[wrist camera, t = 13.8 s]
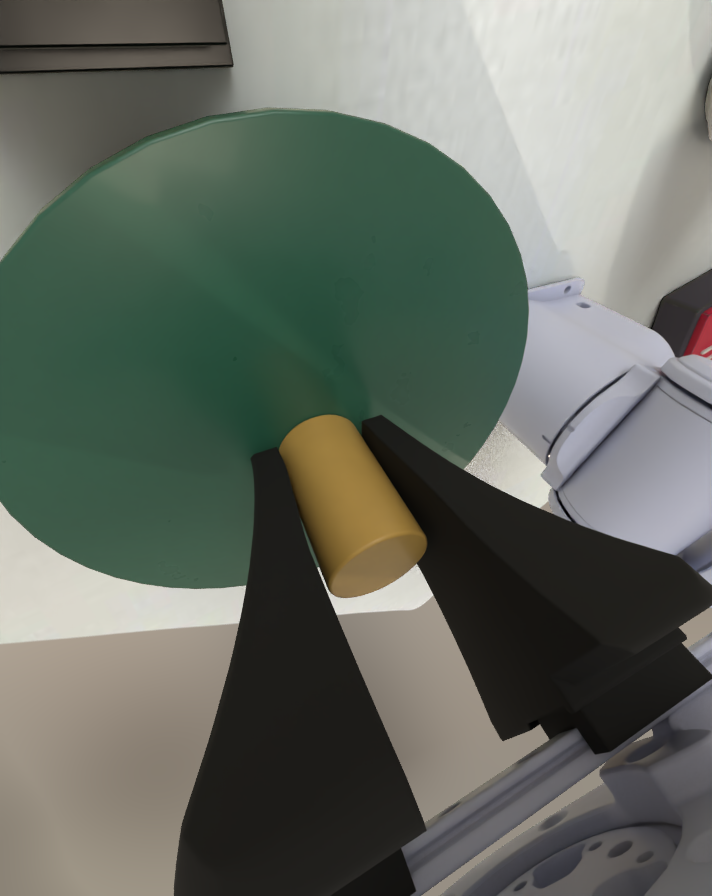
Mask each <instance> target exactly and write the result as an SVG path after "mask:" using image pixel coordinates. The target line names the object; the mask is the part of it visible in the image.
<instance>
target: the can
mask: <svg viewBox="0 0 712 896" xmlns="http://www.w3.org/2000/svg"><path fill="white" fill-rule="evenodd" d="M705 114H706V120H707V121H708V133H709V138H710V139H711V141H712V77H711V80H710V83H709V86H708V91H707V96H706V102H705Z"/></svg>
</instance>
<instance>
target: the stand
mask: <svg viewBox="0 0 712 896" xmlns="http://www.w3.org/2000/svg"><path fill="white" fill-rule="evenodd" d="M233 65H234V64H233V58H232V53H231V47H230V42H229V37H228V31H227V26H226V20H225V15H224V9H223V4H222V0H0V75H4V74H36V73H69V72H101V71H133V70H166V69H198V68H230V67H233Z"/></svg>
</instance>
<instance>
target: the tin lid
mask: <svg viewBox="0 0 712 896" xmlns="http://www.w3.org/2000/svg"><path fill="white" fill-rule="evenodd" d="M528 319H529V302H528V288H527V280H526V275H525V271H524V267H523V262H522V258H521V254H520V251H519V249H518V246H517V244H516V242H515V239H514V237H513V234H512V232H511V229H510V227H509V225H508V223H507V221H506V220H505V218H504V217H503V215H502V214H501V212H500V210H499V209H498V207H497V206H496V204H495V203H494V201H493V200H492V198H491V196H490V195H489V194H488V193H487V192H486V191H485V190H484V189H483V188H482V186H481V185H480V184H479V183H478V182H477V181H476V180H475V179H474V178H473V177H472V176H471V175H470V174H469V173H468V172H467V171H466V170H465V169H464V168H463V167H462V166H461V165H459V164H458V163H456V162H455V161H454V160H452V159H451V158H449V157H448V156H447V155H445V154H444V153H442V152H441V151H439V150H438V149H437V148H435V147H434V146H432V145H431V144H430V143H428V142H426V141H423V140H421V139H419V138H417V137H414V136H412V135H410V134H408V133H405V132H403V131H401V130H399V129H396V128H394V127H392V126H390V125H387V124H385V123H381V122H377V121H372V120H368V119H364V118H359V117H355V116H351V115H346V114H342V113H338V112H333V111H328V110H315V109H291V108H261V109H254V110H247V111H240V112H233V113H226V114H219V115H212V116H206V117H203V118H200V119H197V120H194V121H191V122H188V123H186V124H183V125H180V126H177V127H174V128H171V129H168V130H165V131H162V132H159V133H156V134H153V135H150V136H147V137H145V138H143V139H141V140H139V141H138V142H136V143H134V144H132V145H131V146H129V147H127V148H125V149H123V150H122V151H120V152H118V153H116V154H114V155H113V156H111V157H109V158H107V159H105V160H104V161H102V162H100V163H98V164H96V165H95V166H93V167H91V168H90V169H88V170H87V171H86V172H85V173H84V174H82V175H81V176H80V177H79V178H78V179H76V180H75V181H74V182H73V183H72V184H71V185H69V186H68V187H67V188H66V189H65V190H63V191H62V192H61V193H60V194H59V195H57V196H56V197H55V198H54V199H53V200H51V201H50V202H49V203H48V204H47V205H46V206H44V207H43V208H42V209H41V210H40V212H39V213H38V214H37V215H36V217H35V218H34V219H33V220H32V222H31V223H30V224H29V225H28V227H27V228H26V229H25V230H24V232H23V233H22V234H21V235H20V237H19V238H18V239H17V240H16V242H15V243H14V244H13V245H12V247H11V248H10V249H9V250H8V252H7V253H6V254H5V256H4V257H3V259H2V260H1V262H0V502H1V503H2V504H3V506H4V507H5V508H6V510H7V511H8V512H9V514H10V515H11V516H12V517H14V518H15V519H16V520H17V521H18V522H19V523H20V524H21V525H22V526H23V527H24V528H25V529H26V530H28V531H29V532H30V533H31V534H32V535H33V536H34V537H35V538H37V539H38V540H40V541H41V542H43V543H44V544H46V545H47V546H49V547H50V548H52V549H53V550H55V551H56V552H58V553H59V554H61V555H63V556H65V557H67V558H69V559H71V560H73V561H75V562H77V563H79V564H81V565H83V566H85V567H87V568H90V569H93V570H95V571H98V572H101V573H104V574H107V575H110V576H113V577H116V578H120V579H124V580H128V581H133V582H137V583H141V584H147V585H155V586H162V587H170V588H191V589H205V588H226V587H235V586H245V585H247V579H248V572H249V565H250V557H251V547H252V538H253V526H254V477H253V468H252V463H251V459H250V458H251V457H252V456H253V454H255V453H259V452H262V451H265V450H268V449H272V448H275V447H277V448H278V450H279V452H280V454H281V457H282V459H283V461H284V463H285V465H286V468H287V472H288V475H289V479H290V482H291V486H292V490H293V493H294V497H295V501H296V504H297V508H298V512H299V515H300V519H301V523H302V526H303V530H304V534H305V537H306V540H307V543H308V546H309V549H310V552H311V554H312V557H313V559H314V562H315V564H316V567H320V569H321V572H322V575H323V577H324V580H325V582H326V585H327V587H328V590H329V591H330V592H331V593H332V594H333V595H334V596H337V597H340V598H352V597H357V596H362V595H365V594H368V593H371V592H374V591H376V590H379V589H381V588H383V587H385V586H387V585H389V584H390V583H392V582H394V581H395V580H397V579H398V578H400V577H401V576H403V575H404V574H405V573H407V572H408V571H409V570H410V569H411V568H412V567H413V566H415V564H416V563H417V562H418V561H419V560H420V559H421V558H422V556H423V555H424V553H425V551H426V548H427V538H426V535H425V534H424V532H423V531H422V529H421V528H420V526H419V525H418V523H417V521H416V520H415V518H414V517H413V515H412V514H411V512H410V511H409V509H408V507H407V506H406V504H405V503H404V501H403V500H402V498H401V497H400V495H399V494H398V492H397V490H396V489H395V487H394V486H393V484H392V483H391V481H390V480H389V478H388V477H387V475H386V473H385V472H384V470H383V469H382V467H381V466H380V464H379V463H378V461H377V459H376V458H375V456H374V455H373V453H372V452H371V450H370V449H369V447H368V446H367V444H366V442H365V441H364V439H363V438H362V421H363V420H366V419H369V418H373V417H376V416H379V415H382V416H384V417H385V418H387V419H388V420H390V421H391V422H392V423H394V424H395V425H397V426H398V427H400V428H401V429H402V430H404V431H405V432H407V433H408V434H409V435H411V436H412V437H414V438H415V439H417V440H418V441H419V442H421V443H422V444H424V445H425V446H427V447H428V448H430V449H431V450H433V451H434V452H436V453H437V454H439V455H441V456H442V457H444V458H445V459H447V460H448V461H450V462H451V463H453V464H455V465H456V466H458V467H460V468H461V469H463V470H464V468H465V467H466V466H467V465H468V464H469V463H470V462H471V460H472V459H473V458H474V456H475V455H476V454H477V452H478V451H479V450H480V448H481V447H482V446H483V444H484V443H485V441H486V440H487V438H488V437H489V435H490V434H491V432H492V431H493V429H494V427H495V426H496V424H497V422H498V420H499V418H500V416H501V415H502V413H503V411H504V409H505V407H506V405H507V403H508V400H509V398H510V396H511V393H512V391H513V389H514V386H515V384H516V381H517V377H518V374H519V371H520V368H521V364H522V361H523V356H524V351H525V346H526V341H527V334H528Z"/></svg>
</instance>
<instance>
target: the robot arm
mask: <svg viewBox="0 0 712 896" xmlns="http://www.w3.org/2000/svg"><path fill="white" fill-rule="evenodd" d="M584 284H585V280H584V279H582V278H580V277H577V278H573V279H569V280H565V281H561V282H557V283H552V284H548V285H544V286H540V287H536V288H532V289H528V302H529V319H528V334H527V341H526V346H525V351H524V356H523V361H522V364H521V368H520V371H519V374H518V377H517V381H516V384H515V386H514V389H513V391H512V393H511V396H510V398H509V400H508V403H507V405H506V407H505V409H504V411H503V413H502V415H501V416H500V418H499V420H498V421H499V422H500V423H501V424H502V425H503V426H504V427H505V428H507V429H508V430H509V431H510V432H511V433H512V434H513V435H514V436H515V437H516V438H517V439H518V440H519V441H520V442H521V443H523V444H524V445H525V446H526V447H527V448H528V449H529V450H530V451H531V452H532V453H533V454H534V455H535V456H536V457H537V458H538V459H540V460H541V461H542V462H543V463H544V464H545V465H546V466H547V467H546V468H545V470H544V471H543V472H542V474H541V477H542V478H543V479H544V480H545V481H546V482H547V483H548V484H549V485H550V486H551V487H552V488H551V489H550V492H549V494H548V500H549V504H550V508H551V510H552V512H553V514H551V513H549V512H547V511H544V510H542V509H540V508H537V507H535V506H533V505H530V504H528V503H526V502H524V501H521V500H519V499H517V498H515V497H513V496H511V495H509V494H507V493H505V492H503V491H501V490H499V489H497V488H495V487H493V486H491V485H489V484H487V483H486V482H484V481H482V480H480V479H478V478H477V477H475V476H473V475H471V474H470V473H468V472H466V471H465V470H463V469H461V468H460V467H458V466H456V465H455V464H453V463H451V462H450V461H448V460H447V459H445V458H444V457H442V456H441V455H439V454H437V453H436V452H434V451H433V450H431V449H430V448H428V447H427V446H425V445H424V444H422V443H421V442H419V441H418V440H417V439H415V438H414V437H412V436H411V435H409V434H408V433H407V432H405V431H404V430H402V429H401V428H400V427H398V426H397V425H395V424H394V423H392V422H391V421H390V420H388V419H387V418H385V417H384V416H382V415H379V416H376V417H373V418H369V419H366V420H363V421H362V438H363V439H364V441H365V442H366V444H367V446H368V447H369V449H370V450H371V452H372V453H373V455H374V456H375V458H376V459H377V461H378V463H379V464H380V466H381V467H382V469H383V470H384V472H385V473H386V475H387V477H388V478H389V480H390V481H391V483H392V484H393V486H394V487H395V489H396V490H397V492H398V494H399V495H400V497H401V498H402V500H403V501H404V503H405V504H406V506H407V507H408V509H409V511H410V512H411V514H412V515H413V517H414V518H415V520H416V521H417V523H418V525H419V526H420V528H421V529H422V531H423V532H424V534H425V535H426V538H427V548H426V551H425V553H424V555H423V556H422V558H421V559H420V560H419V561H418V562H417V565H418V566H419V568H420V570H421V571H422V573H423V575H424V577H425V579H426V581H427V583H428V585H429V587H430V589H431V591H432V593H433V595H434V597H435V599H436V601H437V603H438V604H439V607H440V609H441V611H442V613H443V615H444V617H445V619H446V621H447V623H448V625H449V627H450V629H451V631H452V634H453V636H454V638H455V640H456V642H457V645H458V647H459V649H460V651H461V653H462V655H463V657H464V660H465V662H466V664H467V666H468V668H469V671H470V673H471V675H472V678H473V680H474V682H475V685H476V687H477V689H478V692H479V694H480V696H481V699H482V701H483V703H484V706H485V708H486V710H487V713H488V715H489V718H490V720H491V722H492V724H493V726H494V728H495V729H496V731H497V733H498V734H499V737H500V738H501V739H502V741H504V740H507V739H510V738H512V737H515V736H517V735H520V734H522V733H525V732H527V731H530V730H532V729H533V728H535V727H536V726H538V725H539V724H540V725H541V726H542V728H543V730H544V731H545V733H546V734H547V736H548V737H549V739H550V740H549V741H547V742H546V743H544V744H543V745H541V746H540V747H538V748H537V749H535V750H534V751H532V752H531V753H529V754H528V755H526V756H525V757H523V758H522V759H520V760H519V761H517V762H516V763H514V764H513V765H511V766H510V767H508V768H507V769H505V770H504V771H502V772H501V773H499V774H498V775H496V776H495V777H493V778H492V779H490V780H489V781H487V782H486V783H484V784H483V785H481V786H480V787H478V788H477V789H475V790H474V791H472V792H471V793H469V794H468V795H466V796H465V797H463V798H462V799H460V800H459V801H457V802H456V803H454V804H453V805H451V806H450V807H448V808H447V809H445V810H444V811H442V812H440V813H439V814H437V815H436V816H434V817H433V818H432V819H430V820H428V821H427V822H425V823H424V821H423V818H422V816H421V813H420V811H419V808H418V806H417V803H416V801H415V798H414V796H413V793H412V790H411V788H410V785H409V783H408V780H407V778H406V776H405V773H404V771H403V769H402V766H401V764H400V762H399V760H398V757H397V755H396V753H395V750H394V749H393V746H392V744H391V742H390V739H389V737H388V735H387V732H386V730H385V728H384V725H383V723H382V721H381V719H380V716H379V714H378V712H377V709H376V707H375V705H374V702H373V700H372V698H371V696H370V693H369V691H368V688H367V686H366V684H365V682H364V679H363V677H362V675H361V673H360V670H359V668H358V665H357V663H356V660H355V658H354V656H353V653H352V651H351V649H350V646H349V644H348V642H347V639H346V637H345V635H344V632H343V630H342V627H341V625H340V623H339V621H338V618H337V615H336V613H335V611H334V608H333V606H332V603H331V601H330V598H329V596H328V594H327V591H326V589H325V586H324V584H323V581H322V579H321V577H320V574H319V572H318V569H317V567H316V564H315V562H314V559H313V557H312V554H311V552H310V549H309V546H308V543H307V540H306V537H305V534H304V530H303V526H302V523H301V519H300V515H299V512H298V508H297V504H296V501H295V497H294V493H293V490H292V486H291V482H290V479H289V475H288V472H287V468H286V465H285V463H284V461H283V459H282V457H281V454H280V452H279V450H278V448H277V447H275V448H272V449H268V450H265V451H262V452H259V453H255V454H253V456H252V457H251V458H250V459H251V463H252V468H253V477H254V526H253V538H252V547H251V557H250V565H249V572H248V579H247V586H246V592H245V597H244V603H243V608H242V613H241V618H240V623H239V627H238V632H237V636H236V641H235V646H234V650H233V654H232V658H231V663H230V667H229V670H228V674H227V677H226V681H225V685H224V689H223V692H222V696H221V699H220V703H219V706H218V710H217V714H216V717H215V721H214V725H213V728H212V731H211V735H210V738H209V742H208V744H207V748H206V751H205V754H204V757H203V760H202V763H201V766H200V769H199V772H198V775H197V778H196V782H195V785H194V788H193V791H192V794H191V797H190V800H189V803H188V807H187V809H186V812H185V816H184V819H183V822H182V826H181V833H180V840H179V847H178V855H177V862H176V871H175V882H174V896H421V895H423V894H424V893H425V892H427V891H428V890H430V889H431V888H432V887H434V886H435V885H436V884H438V883H439V882H440V881H442V880H443V879H445V878H446V877H447V876H449V875H450V874H452V873H453V872H454V871H456V870H457V869H458V868H460V867H461V866H462V865H464V864H465V863H467V862H468V861H469V860H471V859H472V858H474V857H475V856H476V855H478V854H479V853H481V852H482V851H483V850H485V849H486V848H487V847H489V846H490V845H492V844H493V843H494V842H496V841H497V840H499V839H500V838H501V837H503V836H504V835H505V834H507V833H508V832H510V831H511V830H512V829H514V828H515V827H516V826H518V825H519V824H521V823H522V822H523V821H525V820H526V819H527V818H529V817H530V816H532V815H533V814H534V813H536V812H537V811H538V810H540V809H541V808H543V807H544V806H545V805H547V804H548V803H550V802H551V801H552V800H554V799H555V798H556V797H558V796H559V795H561V794H562V793H563V792H565V791H566V790H567V789H569V788H570V787H571V786H573V785H574V784H576V783H577V782H578V781H580V780H581V779H583V778H584V777H585V776H587V775H588V774H589V773H591V772H592V771H594V770H595V769H596V768H598V767H599V766H601V765H602V764H603V763H605V762H606V761H607V760H608V761H607V762H606V763H605V764H604V766H603V767H602V768H601V769H600V777H601V779H602V780H603V781H604V783H603V784H602V785H600V786H598V787H597V788H595V789H593V790H592V791H590V792H589V793H587V794H585V795H584V796H582V797H580V798H579V799H577V800H575V801H574V802H572V803H571V804H569V805H567V806H566V807H564V808H562V809H561V810H559V811H557V812H556V813H554V814H553V815H551V816H549V817H548V818H546V819H544V820H543V821H541V822H539V823H538V824H536V825H535V826H533V827H531V828H530V829H528V830H527V831H525V832H523V833H522V834H520V835H519V836H517V837H516V838H514V839H513V840H511V841H510V842H508V843H507V844H505V845H504V846H502V847H501V848H500V849H498V850H497V851H495V852H494V853H492V854H491V855H490V856H488V857H487V858H486V859H484V860H483V861H482V862H480V863H479V864H478V865H476V866H475V867H474V868H472V869H471V870H470V871H469V872H467V873H466V874H465V875H464V876H462V877H461V878H460V879H459V880H458V881H456V883H454V884H453V885H452V886H451V887H449V888H448V889H447V890H446V891H445V892H444V893H442V894H441V895H440V896H712V632H711V633H710V634H708V635H707V636H705V637H704V638H702V639H701V640H699V641H698V642H696V643H695V644H693V645H691V646H690V647H688V648H686V647H685V646H684V645H683V644H682V642H683V641H685V640H686V639H687V637H686V635H685V634H684V633H683V632H682V631H681V630H680V629H679V628H678V627H679V626H681V625H683V624H684V623H686V622H687V621H689V620H690V619H692V618H694V617H695V616H697V615H698V614H700V613H701V612H703V611H705V610H706V609H707V608H712V360H710V359H708V358H705V357H702V356H699V355H694V354H693V355H687V356H683V357H680V358H677V357H675V355H674V353H673V351H672V349H671V347H670V346H669V344H668V343H667V342H666V340H665V339H664V338H663V337H662V336H661V335H659V334H658V333H657V332H655V331H654V330H652V329H650V328H648V327H646V326H644V325H642V324H640V323H638V322H636V321H634V320H631V319H629V318H627V317H625V316H623V315H621V314H619V313H617V312H615V311H613V310H611V309H609V308H607V307H605V306H603V305H601V304H599V303H597V302H595V301H593V300H591V299H589V298H586V297H584V296H582V295H580V294H581V292H582V289H583V287H584ZM650 729H652V731H653V736H652V737H649V738H645V739H642V740H639V741H637V742H634V741H635V740H636V739H638V738H639V737H641V736H642V735H643V734H645V733H646V732H648V731H649V730H650ZM632 742H633V743H632Z"/></svg>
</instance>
